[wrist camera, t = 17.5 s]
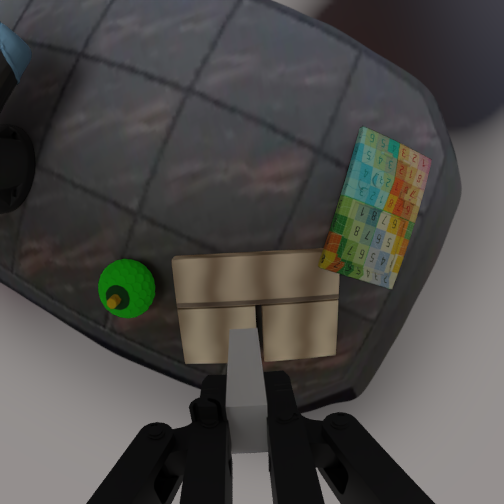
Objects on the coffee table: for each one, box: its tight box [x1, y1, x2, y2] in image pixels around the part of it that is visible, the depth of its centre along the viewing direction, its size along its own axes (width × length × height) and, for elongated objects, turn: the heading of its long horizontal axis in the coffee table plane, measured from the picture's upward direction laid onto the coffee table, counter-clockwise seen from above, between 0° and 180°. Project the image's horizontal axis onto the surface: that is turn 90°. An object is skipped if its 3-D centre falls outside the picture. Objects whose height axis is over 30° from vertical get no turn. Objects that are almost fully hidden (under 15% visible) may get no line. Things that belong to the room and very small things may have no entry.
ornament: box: [98, 259, 155, 318], centre depth 40 cm, size 8×8×10 cm
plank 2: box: [261, 299, 338, 362], centre depth 46 cm, size 11×9×2 cm
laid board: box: [172, 248, 339, 308], centre depth 44 cm, size 23×7×2 cm, turn 93°
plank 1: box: [178, 305, 256, 364], centre depth 46 cm, size 11×9×2 cm
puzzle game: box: [318, 126, 431, 290], centre depth 42 cm, size 12×5×20 cm
